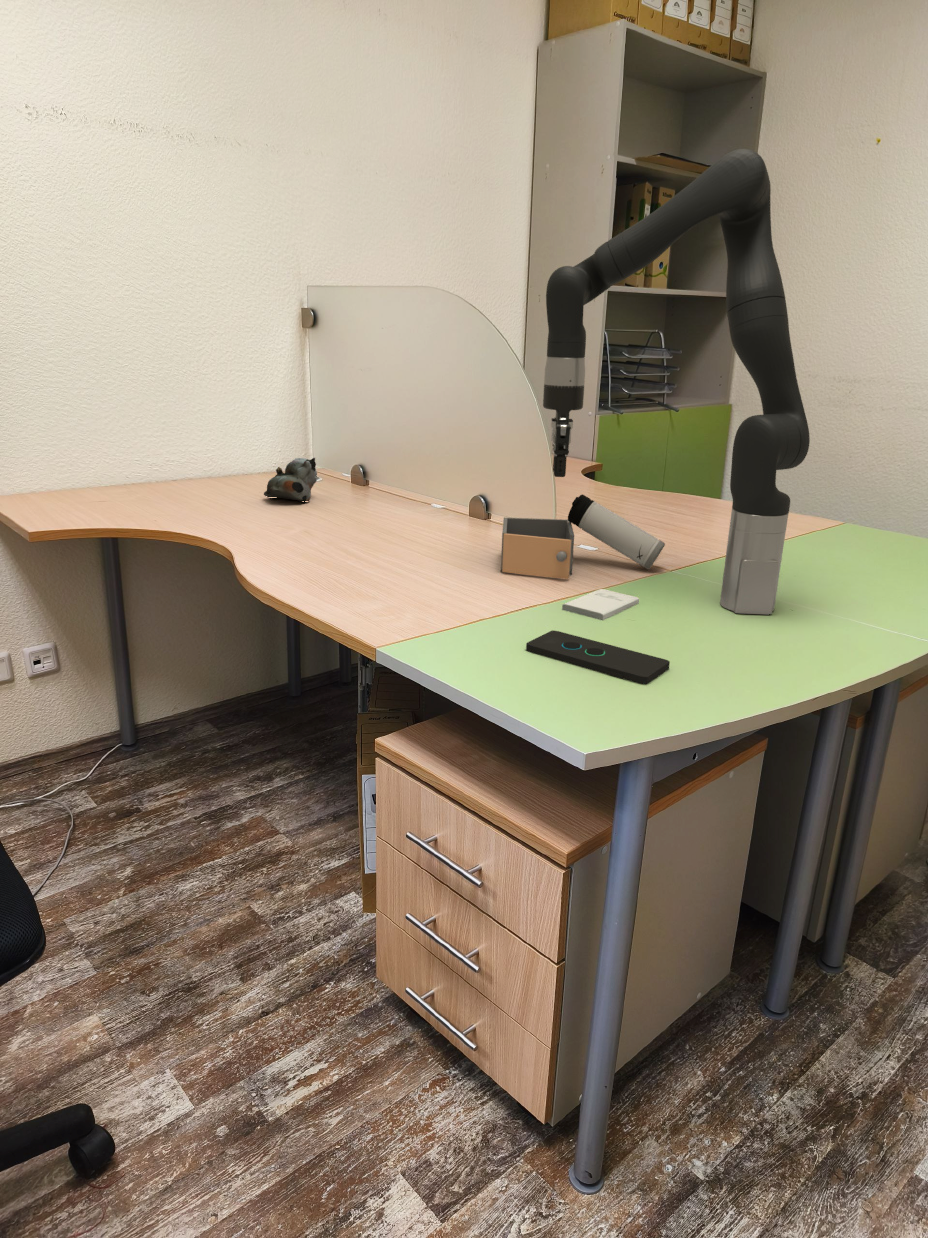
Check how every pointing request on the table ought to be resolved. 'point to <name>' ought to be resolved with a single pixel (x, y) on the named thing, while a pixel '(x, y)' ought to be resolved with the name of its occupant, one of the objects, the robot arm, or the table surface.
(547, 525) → the storage box
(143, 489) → the table surface
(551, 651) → the smart home device
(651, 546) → the travel mug
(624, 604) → the external hard drive
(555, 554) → the side door
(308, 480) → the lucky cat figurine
